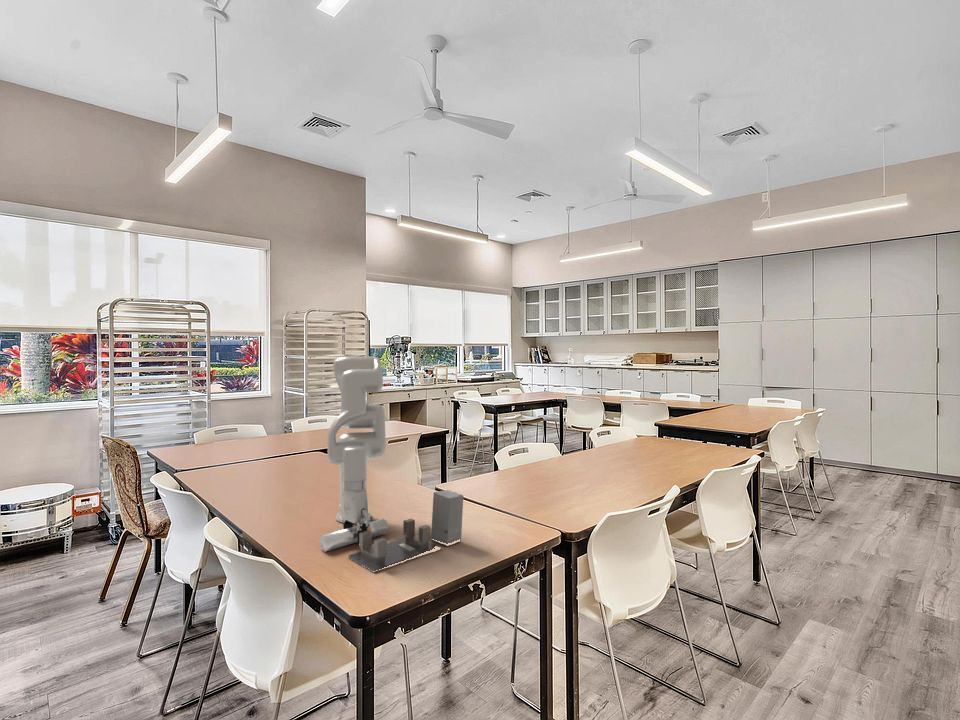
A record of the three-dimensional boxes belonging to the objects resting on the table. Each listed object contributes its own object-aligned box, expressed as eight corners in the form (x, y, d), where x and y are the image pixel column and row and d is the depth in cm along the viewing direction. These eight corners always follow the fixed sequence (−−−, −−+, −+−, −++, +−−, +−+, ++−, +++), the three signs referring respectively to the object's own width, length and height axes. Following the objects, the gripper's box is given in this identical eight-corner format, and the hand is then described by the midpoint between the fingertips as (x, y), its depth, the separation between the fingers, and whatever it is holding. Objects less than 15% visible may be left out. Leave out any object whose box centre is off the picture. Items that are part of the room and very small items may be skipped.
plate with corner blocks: (348, 558, 152) (348, 533, 152) (413, 537, 168) (413, 515, 168) (374, 573, 142) (373, 546, 142) (440, 549, 158) (440, 525, 158)
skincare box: (430, 540, 166) (430, 492, 166) (447, 535, 171) (446, 488, 171) (447, 548, 160) (447, 497, 160) (464, 542, 165) (464, 493, 165)
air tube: (327, 553, 155) (326, 537, 155) (319, 550, 159) (319, 533, 159) (388, 535, 170) (387, 520, 171) (380, 532, 174) (379, 517, 174)
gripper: (331, 482, 168) (331, 534, 168) (358, 492, 155) (358, 549, 156) (351, 478, 173) (351, 529, 173) (379, 487, 161) (379, 542, 161)
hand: (355, 538), depth 165 cm, fingers open, 8 cm apart
